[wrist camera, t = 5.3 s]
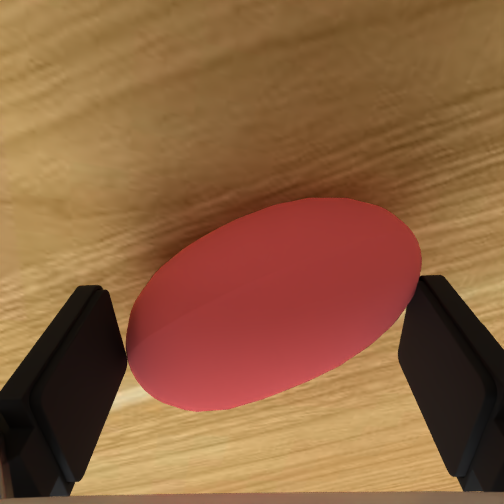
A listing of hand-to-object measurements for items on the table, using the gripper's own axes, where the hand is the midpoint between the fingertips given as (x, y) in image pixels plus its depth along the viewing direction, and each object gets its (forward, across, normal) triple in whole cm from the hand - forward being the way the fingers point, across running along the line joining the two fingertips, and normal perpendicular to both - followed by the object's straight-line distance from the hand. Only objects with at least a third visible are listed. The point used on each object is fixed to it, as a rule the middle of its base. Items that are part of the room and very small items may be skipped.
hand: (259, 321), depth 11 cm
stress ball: (+3, 0, 0) cm, 3 cm away
